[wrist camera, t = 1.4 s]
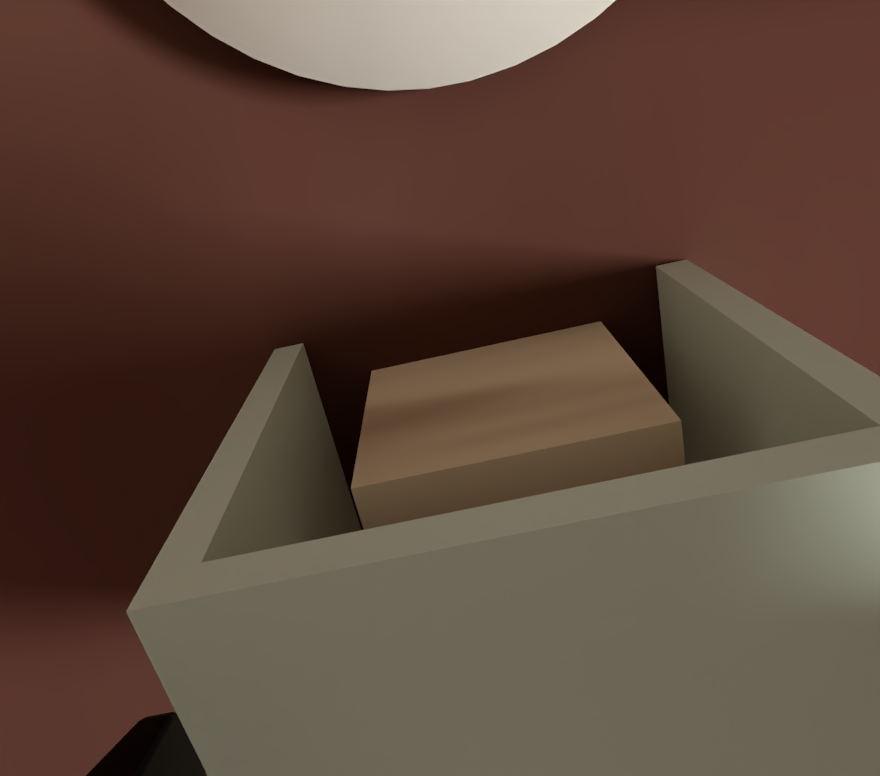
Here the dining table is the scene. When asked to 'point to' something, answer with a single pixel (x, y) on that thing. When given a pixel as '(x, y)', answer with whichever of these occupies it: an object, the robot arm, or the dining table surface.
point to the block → (508, 425)
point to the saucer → (391, 36)
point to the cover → (546, 588)
